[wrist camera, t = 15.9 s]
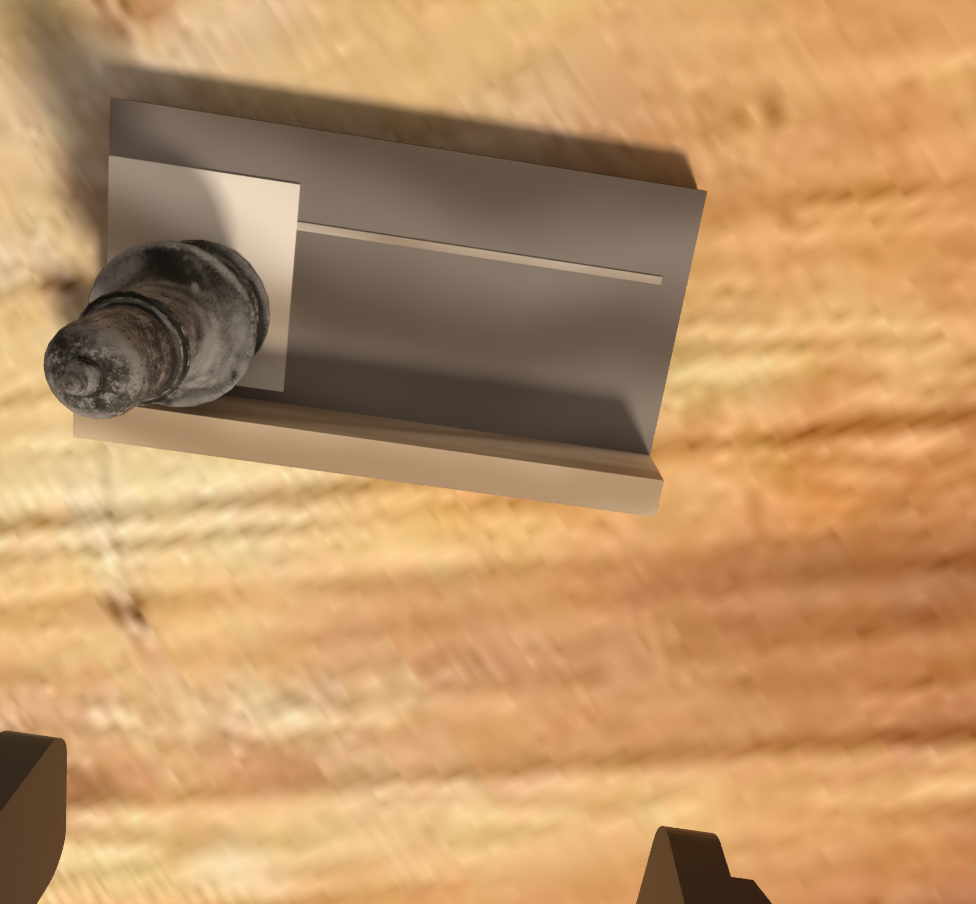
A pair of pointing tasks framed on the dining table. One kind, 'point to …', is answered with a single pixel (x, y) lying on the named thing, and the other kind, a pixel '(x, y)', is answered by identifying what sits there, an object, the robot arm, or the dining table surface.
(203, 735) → the dining table surface
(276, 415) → the board
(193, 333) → the dark stone finial
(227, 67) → the dining table surface
